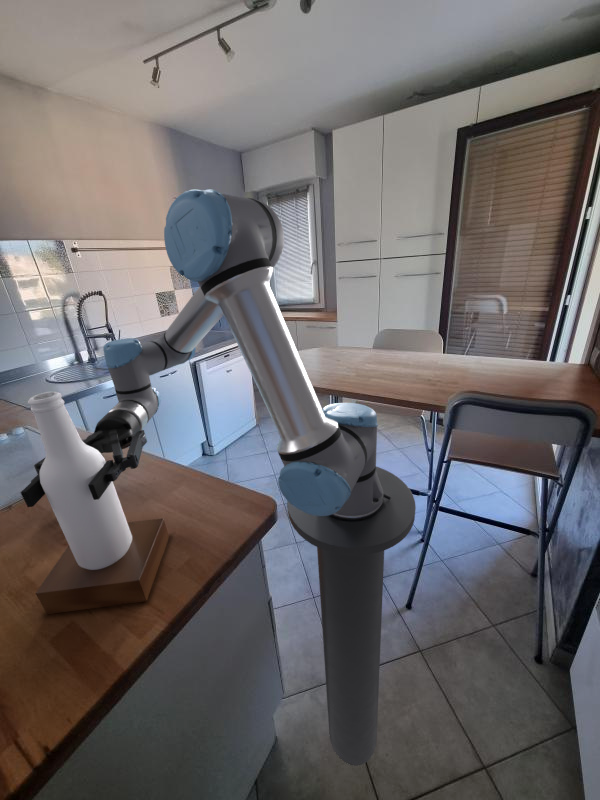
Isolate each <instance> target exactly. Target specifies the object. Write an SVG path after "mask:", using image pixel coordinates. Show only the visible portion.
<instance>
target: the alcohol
mask: <svg viewBox="0 0 600 800" xmlns="http://www.w3.org/2000/svg"><path fill="white" fill-rule="evenodd" d="M62 397H63V395H62V393H61V392H59V391H45V392H41V393H38V394H35V395H32V396H31V397H30V398H29V399H28V400H27V404H28V405H30V411H31V412H32V413H33V416H34V418H35V423H36V425H37V429H38V431H39V435H40V439H41V441H42V445H43V447H44V451H45V457H46V458H45V457H44V458H45V460H44V462H43V464H42V466H41V469H40V472H39V474H40V483H41V485H42V488H43V490H44V492H45V497H46V498H47V500H48V502H49V504H50V507H51V509H52V512H53V514H54V516H55V518H56V520H57V522H58V525H59V527H60V530H61V531H62V533H63V535H64V537H65V540H66V542H67V544H68V546H70V548H71V551H72V553H73V555H74V557H75V559H76V562H77V563H78V565H79V566H80V567H82V568H85V569H89V570H98V569H102V568H105V567H108V566H110V565H112V564H114V563H115V562H117V561H118V560H119V559H121V558H122V557H123V556H124V555H125V554H126V552H127V551H128V549H129V547H130V545H131V542H132V535H131V532H130V529H129V526H128V523H127V522H128V521H127V517H126V515H125V512H124V510H123V507H122V503H121V501H120V499H119V495H118V493H117V490H116V487H115V485H114V484H115V483H114V481H112V482H111V483H110V484H109V486H108V487H107V489H106V490H105V492H104V493H103V494H102V496H101V497H100V499H97V500H94V499H93V496H92V494H91V491H90V489H89V486H88V484H89V483H90V482H91V481H92V479H93V478H94V477H95V476H96V474H97V473H98V472H99V471H100V469H101V468H102V467H103V466H104V464H105V463H106V462H107V460H106V459H105V457H104V455H102V453H100V452H99V451H98V450H96V449H95V448H93V447H91V446H88V445H86V444H85V443H84V442H83V441H82V438H81V436H80V434H79V432H78V430H77V427H76V426H75V423H74V422H73V420H72V417H71V416H70V414H69V412H68V410H67V407H66V405H65V400H64V399H63V398H62Z"/></svg>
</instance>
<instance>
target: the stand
mask: <svg viewBox="0 0 600 800" xmlns="http://www.w3.org/2000/svg"><path fill="white" fill-rule="evenodd" d="M127 523H128V526H129V529H130V532H131V535H132V542H131V545H130V547H129V549H128V551H127V552H126V554H125V555H124V556H123V557H122V558H121V559H119V560H118V561H117V562H115V563H114V564H112V565H110V566H108V567H105V568H102V569H98V570H89V569H85V568H82V567H80V566H79V565H78V563H77V562H76V559H75V557H74V555H73V553H72V551H71V548H70V546H69V545H68V546H67V547H66V548H65V550H64V551H63V553H62V554H61V555H60V557H59V558H58V560H57V561H56V563H55V564H54V566H53V567H52V569H51V570H50V572H49V573H48V575H47V576H46V577H45V579H44V581H43V582H42V583H41V585H40V586H39V588H38V589H37V590H36V592H35V595H36V598H37V599H38V601H39V603H40V604H41V606H42V608H43V610H44V612H45V613H46V615H52V614H58V613H59V614H60V613H68V612H75V611H82V610H83V611H84V610H90V609H99V608H107V607H112V606H113V607H114V606H121V605H128V604H137V603H144V602H147V601H148V598H149V596H150V594H151V590H152V587H153V585H154V582H155V579H156V576H157V573H158V570H159V567H160V565H161V561H162V559H163V556H164V554H165V551H166V548H167V546H168V545H167V544H168V542H169V539H170V535H169V531H168V528H167V524H166V521H165V518H164V517H162V518H161V517H160V518H153V519H145V520H137V521H136V520H135V521H127Z"/></svg>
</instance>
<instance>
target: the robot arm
mask: <svg viewBox="0 0 600 800" xmlns="http://www.w3.org/2000/svg"><path fill="white" fill-rule="evenodd" d="M163 234H164V235H163V238H164V239H163V240H164V246H165V251H166V255H167V257H168V259H169V262H170V264H171V265H172V267H173V268H174V270H175V271H176V272H177V274H179V275H180V276H183V277H184V278H185V279H186V280H190V281H191V282H197V283H198V285H199V287H198V288H197V289H196V290H195V292H194V293H193V294H192V296H191V297H190V299H188V301H187V303H186V304H185V305H184V307H183V308H182V309H181V310H180V311H179V313H178V314H177V316H176V317H175V318H174V320H173V321H172V322H171V324H170V325H169V327H168V328H167V329H166V330H165V332H164V333H163V334H162V335H161V336H160V337H159V338H156V339H152V340H150V341H146V342H143V343H141V342H140V340H139V339H138V338H136V337H135V338H134V337H133V338H132V337H126V338H120V339H113V340H111V341H107V342H106V343H105V344H104V346H103V355H104V360H105V364H106V367H107V368H108V372H109V375H110V378H111V381H112V383H113V386H114V391H115V394H116V398H117V403H116V404H115V405H114V406H113V407H112V408H111V409H110V410H109V411H107V413H106V414H105V415H104V416H103V417H101V419H100V420H99V421H98V422H97V423H96V425H95V427H94V431H93V433H92V434H90V435H88V436H87V437H86V438H81V440H82V441H83V442H84V443H85V444H86V445H88V446H91V447H93V448H95V449H96V450H98V451H99V452H100V453H101V454H111V453H112V458H113V459H109V460H108V459H107V460H106V463H105V464H104V466H103V467H102V468H101V469H100V471H99V472H98V473H97V474H96V476H95V477H94V478H93V479H92V481H91V482H90V483H89V484H88V486H89V489H90V491H91V494H92V496H93V499H94V500H97V499H100V497H101V496H102V494H103V493H104V492H105V490H106V489H107V487H108V486H109V484H110V483H111V482H112V481H113V482H115V481H116V480H118V478H119V477H120V475H121V474H122V473H123V472H125V471H126V470H127V469H128V468H129V469H131V470H134V469H136V468H138V467H139V464H140V459H141V456H142V451H143V448H144V446H145V445H146V444H147V443H148V439H147V436H146V433H145V429H144V428H145V427H146V426H147V424H148V423H149V422H150V420H151V419H152V418H153V417H154V416H155V415H156V414H157V412H158V410H159V407H160V406H161V402H162V399H161V398H162V397H161V394H160V392H159V391H158V390H157V389H156V387H154V386H152V383H151V378H150V376H153V375H155V374H158V373H160V372H162V371H165V370H168V369H171V368H173V367H177V366H178V365H183V364H185V363H187V362H188V361H190V360H191V359H193V358H194V357H195V355H196V350H197V346H198V345H199V343H200V342H201V341H202V340H204V338H205V337H206V336H207V334H208V333H209V332H210V331H211V330H212V329H213V328H214V326H216V325H217V324H218V322H219V321H220V320H221V319H222V318H223V317H224V318H225V320H226V322H227V325H228V327H229V329H230V332H231V333H232V335H233V338H234V340H235V342H236V345H237V347H238V348H239V351H240V353H241V355H242V357H243V359H244V361H245V363H246V366H247V368H248V371H249V372H250V375H251V377H252V379H253V381H254V384H255V385H256V387H257V390H258V391H259V394H260V396H261V398H262V400H263V403H264V405H265V406H266V409H267V411H268V413H269V415H270V418H271V420H272V422H273V424H274V426H275V428H276V431H277V433H278V435H279V440H278V443H277V446H276V452H277V454H278V456H279V458H280V460H281V462H282V464H283V467H282V468H281V469H280V471H279V476H278V479H277V484H278V488H279V490H280V492H281V494H282V496H283V497H284V499H285V500H286V502H287V501H288V502H289V503H290V504H292V505H293V506H294V507H296V508H297V509H300V510H302V511H303V512H305V513H307V514H310V515H314V516H328V515H329V516H330V517H333V518H335V519H338V520H342V521H361V520H365V519H368V518H371V517H372V516H374V515H376V514H377V513H378V512H379V511H380V509H381V508H382V505H383V497H384V498H387V499H389V500H390V498H391V497H390V496H388V495H386V494H384V493H383V489H382V486H381V484H380V481H379V478H378V475H377V473H376V467H377V443H378V442H377V440H378V439H377V438H378V426H379V423H378V416H377V415H378V414H377V413H376V411H375V410H374V409H373V408H372V407H369V406H367V405H365V404H361V403H355V402H336V403H330V404H328V405H325V406H324V407H322V405H321V402H320V400H319V398H318V395H317V394H316V391H315V389H314V387H313V384H312V381H311V379H310V376H309V374H308V373H307V370H306V368H305V365H304V363H303V361H302V359H301V356H300V353H299V351H298V349H297V347H296V345H295V342H294V339H293V338H292V337H293V336H292V334H291V332H290V330H289V328H288V325H287V323H286V321H285V319H284V316H283V314H282V312H281V309H280V306H279V304H278V301H277V299H276V297H275V295H274V293H273V290H272V288H271V285H270V283H271V278H272V276H273V274H274V268H275V266H276V265H277V264H278V262H279V261H280V258H281V256H282V254H283V251H284V246H285V233H284V227H283V224H282V222H281V220H280V218H279V215H277V213H276V212H275V211H274V210H273V208H272V207H271V206H269V205H268V204H267V203H265V202H264V201H263V200H259V199H256V198H251V197H243V196H238V195H231V194H225V193H221V192H219V191H218V190H215V189H209V188H207V189H205V190H204V189H189V190H186V191H183V192H182V193H181V194H179V195H178V196H177V197H176V198H175V199H174V201H173V202H172V203H171V205H170V206H169V209H168V211H167V214H166V217H165V226H164V228H163ZM124 449H128V450H127V453H126V456H124V452H123V450H124ZM45 458H46V456H45V457H44V458H42V459H41V460H39V461H37V462H36V463H35V464H34V465H33V467H34V469H35V472H36V476H35V477H34V478H32V479H31V481H30V483H28V485H26V486H25V487H24V488H23V490H21V491H20V494H21V496H22V499H23V501H24V503H25V505H26V507H27V508H34V507H35V505H36V504H37V503H38V502H39V501H40V500H41V499H42V498H43V497H44V496H46V494H45V492H44V490H43V488H42V485H41V483H40V474H39V472H40V469H41V466H42V464H43V462H44V460H45ZM113 460H114V461H113Z"/></svg>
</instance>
